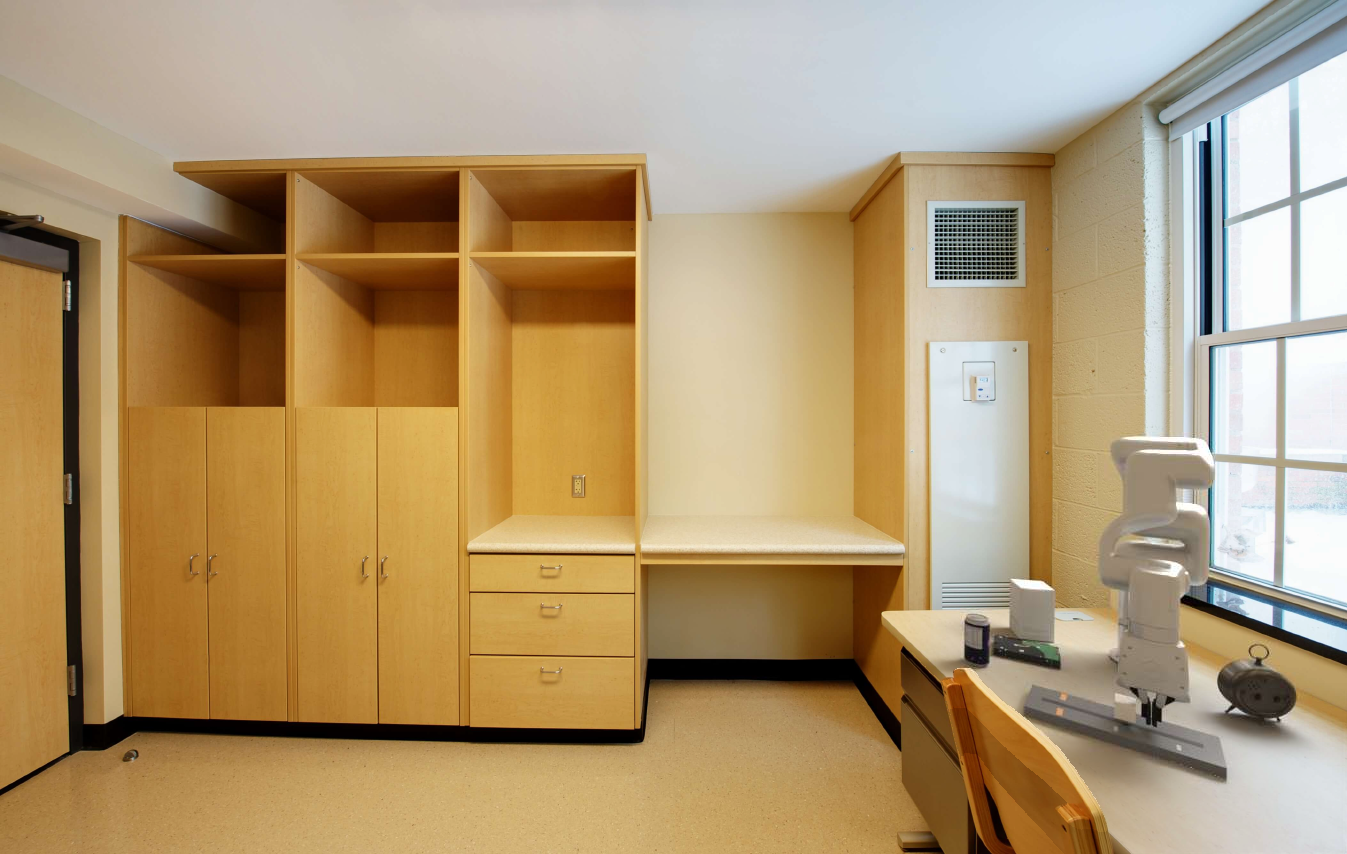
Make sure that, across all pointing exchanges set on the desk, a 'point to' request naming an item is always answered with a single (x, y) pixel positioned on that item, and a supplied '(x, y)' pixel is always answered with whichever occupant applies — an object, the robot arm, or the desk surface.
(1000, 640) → the disk drive
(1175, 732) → the fader console
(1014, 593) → the supplement box
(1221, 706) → the desk surface
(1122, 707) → the fader knob
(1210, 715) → the desk surface
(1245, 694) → the alarm clock
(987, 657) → the beverage can
